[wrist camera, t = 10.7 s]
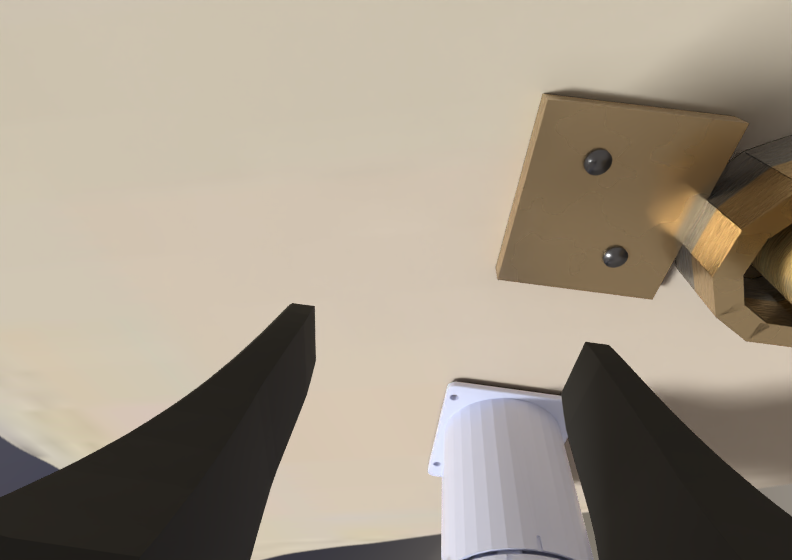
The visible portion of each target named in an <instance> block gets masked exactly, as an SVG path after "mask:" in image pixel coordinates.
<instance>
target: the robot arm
mask: <svg viewBox="0 0 792 560" xmlns="http://www.w3.org/2000/svg"><path fill="white" fill-rule="evenodd" d="M315 362H316V349H315V306H309V305H302V304H294V303H292V304H290V305H289V306H288V307H287V308H286V309H285V310H284V311H283V312H282V313H281V314H280V315H279V316H278V317H277V318H276V319H275V320H274V321H273V322H272V323H271V324H270V325H269V326H268V327H267V328H266V329H265V330H264V331H263V332H262V333H261V334H260V335H259V336H258V337H257V338H255V339H254V340H253V341H252V342H251V343H250V344H249V345H248V346H247V347H246V348H245V349H244V350H242V351H241V352H240V353H239V354H238V355H237V356H236V357H235V358H233V359H232V360H231V361H230V362H229V363H227V364H226V365H225V366H224V367H223V368H221V369H220V370H219V371H218V372H217V373H215V374H214V375H213V376H212V377H211V378H209V379H208V380H207V381H205V382H204V383H203V384H201V385H200V386H199V387H198V388H196V389H195V390H194V391H192V392H191V393H189V394H188V395H187V396H185V397H184V398H182V399H181V400H180V401H178V402H177V403H175V404H174V405H172V406H171V407H169V408H168V409H166V410H165V411H163V412H162V413H160V414H159V415H157V416H155V417H154V418H152V419H151V420H149V421H148V422H146V423H144V424H143V425H141V426H140V427H138V428H136V429H135V430H133V431H131V432H130V433H128V434H126V435H125V436H123V437H121V438H119V439H117V440H116V441H114V442H112V443H110V444H108V445H107V446H105V447H103V448H101V449H99V450H97V451H96V452H94V453H92V454H90V455H88V456H86V457H84V458H82V459H80V460H79V461H77V462H75V463H73V464H71V465H69V466H67V467H65V468H63V469H61V470H58V471H56V472H54V473H52V474H50V475H48V476H46V477H44V478H41V479H39V480H37V481H35V482H33V483H31V484H29V485H27V486H24V487H22V488H20V489H18V490H16V491H14V492H11V493H9V494H7V495H4V496H2V497H0V560H250V559H251V555H252V551H253V548H254V544H255V541H256V537H257V533H258V530H259V526H260V523H261V519H262V516H263V513H264V509H265V506H266V502H267V499H268V495H269V492H270V489H271V486H272V483H273V480H274V477H275V474H276V471H277V469H278V466H279V464H280V461H281V459H282V456H283V454H284V451H285V449H286V446H287V444H288V441H289V439H290V436H291V434H292V431H293V428H294V426H295V423H296V421H297V418H298V416H299V413H300V411H301V408H302V406H303V403H304V401H305V398H306V395H307V392H308V388H309V385H310V381H311V377H312V373H313V369H314V366H315ZM567 438H568V439H569V443H570V446H571V450H572V454H573V457H574V461H575V464H576V468H577V471H578V475H579V478H580V482H581V485H582V489H583V492H584V496H585V499H586V503H587V506H588V510H589V513H590V517H591V522H592V526H593V530H594V534H595V540H596V545H597V551H598V556H599V560H792V517H791V516H790V515H789V514H788V513H786V512H785V511H784V510H782V509H781V508H780V507H779V506H777V505H776V504H775V503H773V502H772V501H771V500H770V499H768V498H767V497H766V496H765V495H763V494H762V493H761V492H760V491H758V490H757V489H756V488H755V487H754V486H752V485H751V484H750V483H749V482H748V481H747V480H745V479H744V478H743V477H742V476H741V475H740V474H738V473H737V472H736V471H735V470H734V469H732V468H731V467H730V466H729V465H728V464H727V463H725V462H724V461H723V460H722V459H721V458H720V457H719V456H718V455H717V454H715V453H714V452H713V451H712V450H711V449H710V448H709V447H708V446H707V445H706V444H705V443H704V442H703V441H702V440H701V439H699V438H698V437H697V436H696V435H695V434H694V433H693V432H692V431H691V430H690V429H689V428H688V427H687V426H686V425H685V424H684V423H683V422H682V421H681V420H680V419H679V418H678V417H677V416H676V415H675V414H674V413H673V412H672V411H671V410H670V409H669V408H668V407H667V406H666V405H665V404H664V403H663V402H662V401H661V400H660V399H659V397H658V396H657V395H656V394H655V393H654V392H653V391H652V390H651V389H650V388H649V387H648V386H647V385H646V384H645V383H644V381H643V380H642V379H641V378H640V377H639V376H638V375H637V374H636V373H635V372H634V371H633V370H632V369H631V367H630V366H629V365H628V364H627V363H626V362H625V361H624V360H623V359H622V358H621V357H620V356H619V355H618V354H617V353H616V352H615V351H614V350H613V349H612V348H611V347H610V346H609V345H605V344H598V343H590V342H585V344H584V346H583V348H582V350H581V352H580V355H579V357H578V359H577V361H576V363H575V365H574V367H573V369H572V372H571V374H570V376H569V378H568V380H567V382H566V384H565V386H564V389H563V391H562V393H561V396H559V395H552V394H545V393H537V392H530V391H522V390H515V389H508V388H500V387H493V386H485V385H478V384H471V383H463V382H451V383H449V384H448V386H447V389H446V394H445V398H444V402H443V406H442V410H441V415H440V419H439V423H438V427H437V431H436V436H435V440H434V444H433V448H432V452H431V457H430V461H429V465H428V473H429V474H430V475H433V476H439V477H442V545H441V546H442V547H441V550H442V551H441V559H442V560H594V559H593V555H592V551H591V547H590V543H589V540H588V536H587V532H586V528H585V524H584V520H583V516H582V512H581V508H580V504H579V500H578V496H577V493H576V489H575V485H574V481H573V477H572V473H571V469H570V465H569V461H568V457H567V453H566V449H565V446H564V443H565V442H566V440H567Z"/></svg>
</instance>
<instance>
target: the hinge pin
mask: <svg viewBox="0 0 792 560" xmlns="http://www.w3.org/2000/svg"><path fill="white" fill-rule="evenodd" d="M751 264H752V265H753V266H754V267H755V268H756V269H757V270H758V271H759V272H760V273H761V274H762V275H763V276H764V277H765V278H766V279H767V280H768V281H769V282H770V283H771V284H772V285H773V286H774V287H775V288H776V289H777V290H778V291H779V292H780V293H781V294H782V295H783V296H784V297H785V298H786V299H787V300H788V301H789V302H790V303H791V304H792V224H790V225H789V226H787V227H786V228H784V229H783V230H781V231H780V232H778V233H777V234H775V235H774V236H772V237H771V238H769V239H768V240H767V241H766V242H765V244H764V245H763V247H762V248H761V250H760V251H759V253H758V254H757V256H756V257H755V258H754V260H753V261H752V263H751Z"/></svg>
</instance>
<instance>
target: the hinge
mask: <svg viewBox="0 0 792 560" xmlns="http://www.w3.org/2000/svg"><path fill="white" fill-rule="evenodd" d="M748 125H749V123H747V122H745V121H743V120H741V119H739V118H737V117H735V116H728V115H719V114H711V113H703V112H694V111H686V110H677V109H669V108H660V107H652V106H643V105H635V104H627V103H618V102H610V101H601V100H593V99H584V98H576V97H567V96H559V95H551V94H542V98H541V102H540V105H539V109H538V113H537V117H536V120H535V124H534V128H533V131H532V135H531V139H530V142H529V146H528V150H527V154H526V157H525V161H524V165H523V168H522V172H521V176H520V179H519V183H518V187H517V190H516V194H515V198H514V202H513V205H512V209H511V213H510V216H509V220H508V224H507V227H506V231H505V235H504V239H503V242H502V246H501V250H500V253H499V257H498V261H497V264H496V273H497V279H498V280H505V281H512V282H520V283H528V284H536V285H543V286H551V287H559V288H567V289H574V290H582V291H590V292H598V293H605V294H613V295H621V296H629V297H636V298H644V299H653V297H654V296H655V294H656V292H657V290H658V288H659V286H660V285H661V283H662V281H663V279H664V277H665V276H666V274H667V272H668V270H669V268H670V267H671V265H672V263H673V261H674V259H675V257H676V263H677V269H678V270H679V272H680V273H681V274H682V275H683V277H684V278H685V279H686V280H687V282H688V283H689V284H690V285H691V287H692V288H693V289H694V290H695V292H696V293H697V294H698V295H699V297H700V298H701V299H702V300H703V302H704V303H705V304H706V305H707V307H708V308H709V309H710V310H711V312H712V313H713V314H714V315H715V316H716V317H717V318H718V319H719V320H720V321H722V322H723V323H724V324H725V325H726V326H728V327H729V328H730V329H731V330H733V331H734V332H735V333H736V334H738V335H739V336H740V337H741V338H743V339H744V340H745V341H748V342H756V343H764V344H771V345H779V346H787V347H792V304H791V303H790V302H789V301H788V300H787V299H786V298H785V297H784V296H783V295H782V294H781V293H780V292H779V291H778V290H777V289H776V288H775V287H774V286H773V285H772V284H771V283H770V282H769V281H768V280H767V279H766V278H765V277H764V276H763V277H759V278H755V279H750V278H743V275H744V273H745V272H746V270H747V269H748V267H749V266H750V264H751V263H752V261H753V260H754V258H755V257H756V256H757V254H758V253H759V251H760V250H761V248H762V247H763V245H764V244H765V242H766V241H767V240H768V239H769V238H771V237H772V236H774V235H775V234H777V233H778V232H780V231H781V230H783V229H784V228H786V227H787V226H789V225H790V224H792V135H791V136H788V137H785V138H782V139H779V140H776V141H773V142H770V143H767V144H764V145H761V146H758V147H755V148H752V149H749V150H746V151H744V152H742V153H741V154H739V155H738V156H737V157H736V158H734V159H733V160H732V161H731V162H730V163H728V161H729V159H730V158H731V156H732V154H733V152H734V150H735V148H736V147H737V145H738V143H739V141H740V139H741V138H742V136H743V134H744V132H745V130H746V128H747V127H748ZM727 163H728V164H727Z"/></svg>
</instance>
